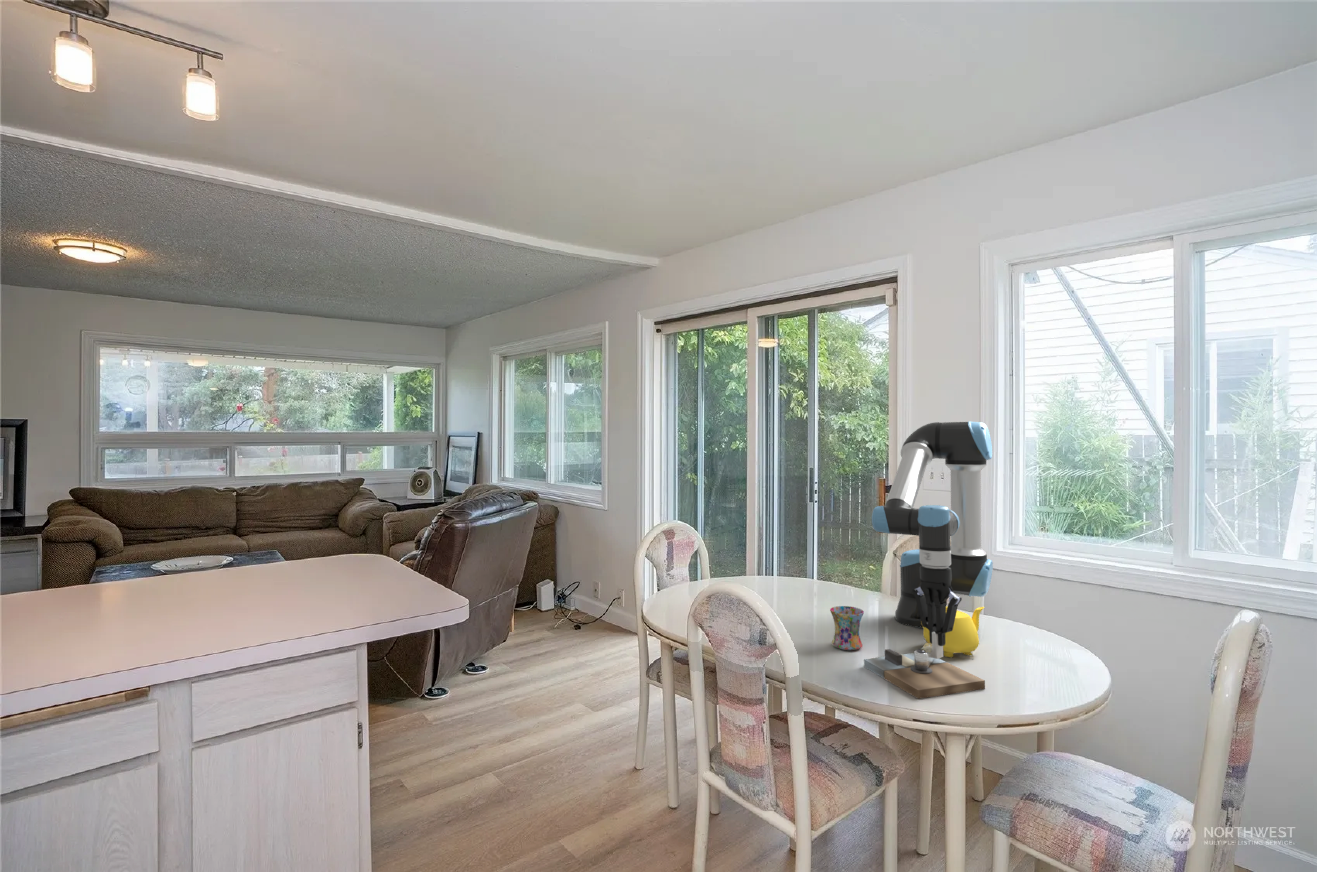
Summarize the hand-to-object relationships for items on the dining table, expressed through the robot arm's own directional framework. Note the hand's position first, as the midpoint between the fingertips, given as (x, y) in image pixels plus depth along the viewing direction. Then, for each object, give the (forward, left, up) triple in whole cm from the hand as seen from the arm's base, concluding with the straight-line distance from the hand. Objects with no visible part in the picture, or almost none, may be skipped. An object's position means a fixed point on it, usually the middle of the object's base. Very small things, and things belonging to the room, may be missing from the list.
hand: (937, 657), depth 163 cm
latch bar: (+4, 0, -1) cm, 4 cm away
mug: (+12, -24, -4) cm, 27 cm away
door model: (+8, +3, -4) cm, 9 cm away
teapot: (-14, -11, -4) cm, 19 cm away
